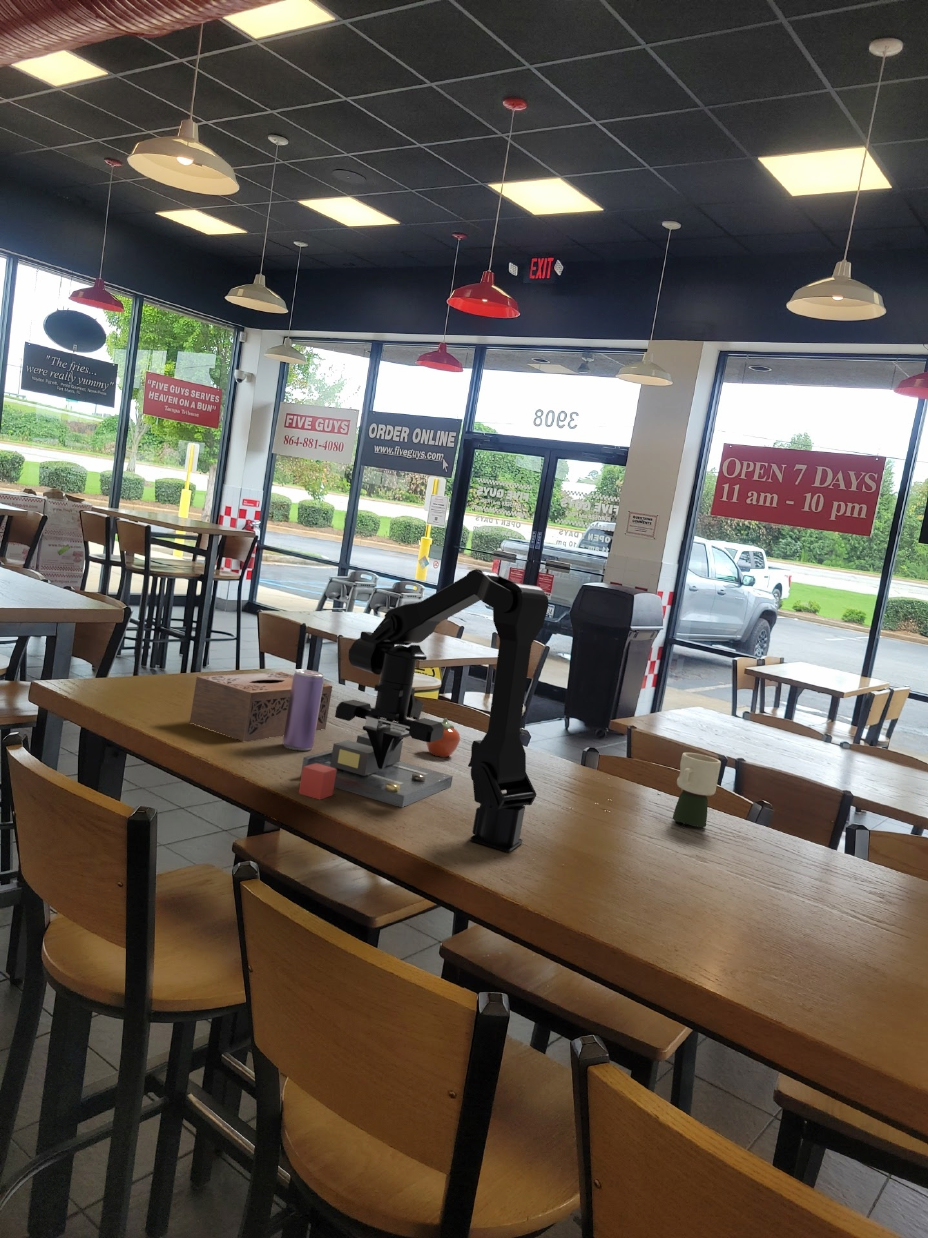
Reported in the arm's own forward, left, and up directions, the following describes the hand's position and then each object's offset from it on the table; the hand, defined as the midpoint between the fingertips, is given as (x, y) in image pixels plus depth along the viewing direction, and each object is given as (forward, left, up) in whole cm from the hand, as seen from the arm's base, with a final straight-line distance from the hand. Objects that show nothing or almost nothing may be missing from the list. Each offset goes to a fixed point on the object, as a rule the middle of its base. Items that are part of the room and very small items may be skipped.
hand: (381, 768), depth 155 cm
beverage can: (+24, -11, -4) cm, 27 cm away
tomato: (+4, -35, -4) cm, 35 cm away
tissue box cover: (+38, -18, -4) cm, 42 cm away
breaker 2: (+6, -10, -1) cm, 12 cm away
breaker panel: (+2, -4, -4) cm, 6 cm away
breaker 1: (+5, 0, -1) cm, 5 cm away
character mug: (-49, -33, -4) cm, 59 cm away
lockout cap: (+5, +12, -4) cm, 14 cm away
